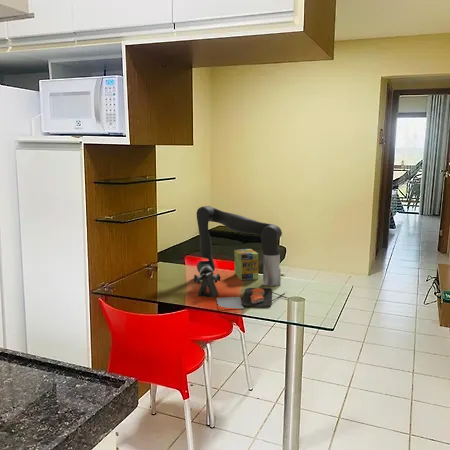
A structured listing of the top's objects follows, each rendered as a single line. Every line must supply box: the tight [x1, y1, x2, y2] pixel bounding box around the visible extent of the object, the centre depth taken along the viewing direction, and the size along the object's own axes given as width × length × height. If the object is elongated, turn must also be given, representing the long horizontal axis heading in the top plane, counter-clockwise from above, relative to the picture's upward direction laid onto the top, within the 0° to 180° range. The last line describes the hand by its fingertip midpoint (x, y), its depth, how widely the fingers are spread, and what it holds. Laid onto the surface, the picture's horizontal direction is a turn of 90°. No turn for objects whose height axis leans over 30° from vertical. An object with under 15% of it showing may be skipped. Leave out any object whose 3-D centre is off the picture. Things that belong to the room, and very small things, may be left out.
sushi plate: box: [241, 287, 288, 307], centre depth 231 cm, size 29×30×4 cm
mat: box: [215, 296, 245, 310], centre depth 224 cm, size 12×18×1 cm, turn 4°
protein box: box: [233, 248, 259, 282], centre depth 273 cm, size 10×15×16 cm
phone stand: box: [197, 272, 219, 299], centre depth 238 cm, size 9×6×12 cm, turn 67°
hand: (207, 281), depth 241 cm, fingers open, 8 cm apart
